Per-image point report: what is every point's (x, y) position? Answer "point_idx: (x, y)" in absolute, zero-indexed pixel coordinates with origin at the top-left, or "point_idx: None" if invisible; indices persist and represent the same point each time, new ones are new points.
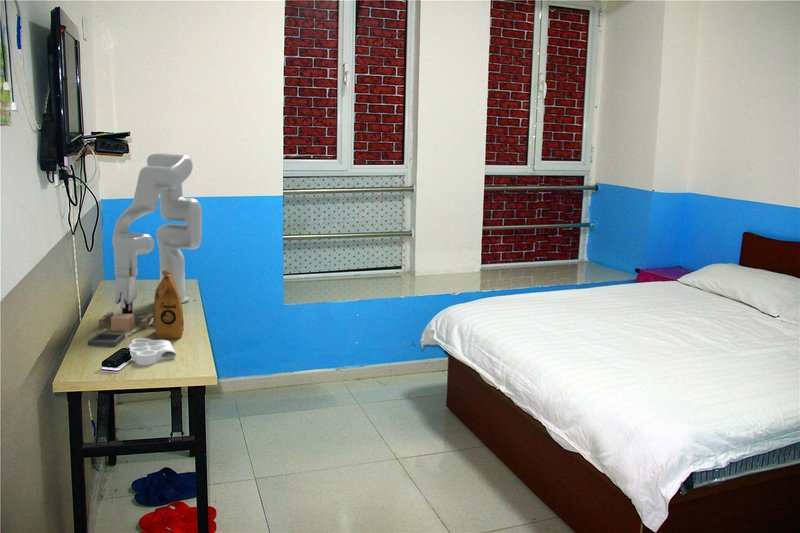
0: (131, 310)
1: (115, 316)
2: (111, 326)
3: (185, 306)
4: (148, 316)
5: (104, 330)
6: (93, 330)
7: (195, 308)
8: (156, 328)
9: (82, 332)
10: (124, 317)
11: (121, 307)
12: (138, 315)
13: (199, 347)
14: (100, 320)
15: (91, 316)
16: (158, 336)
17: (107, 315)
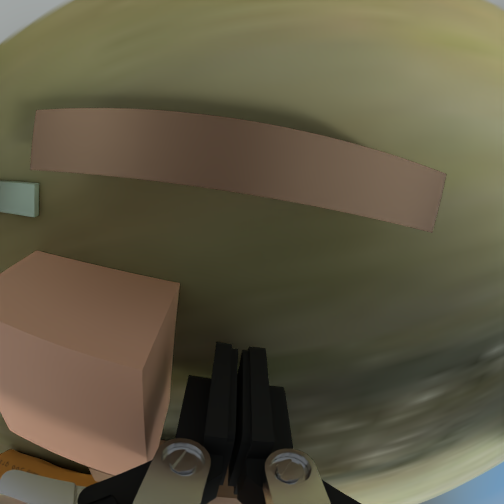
0: (235, 487)
1: (8, 348)
2: (16, 265)
3: (480, 464)
4: (211, 502)
5: (3, 203)
6: (30, 98)
7: (440, 493)
8: (3, 473)
9: (3, 43)
10: (18, 415)
11: (8, 481)
12: (455, 369)
13: None
14: (37, 135)
15: (487, 24)
16: (4, 452)
17: (260, 174)
